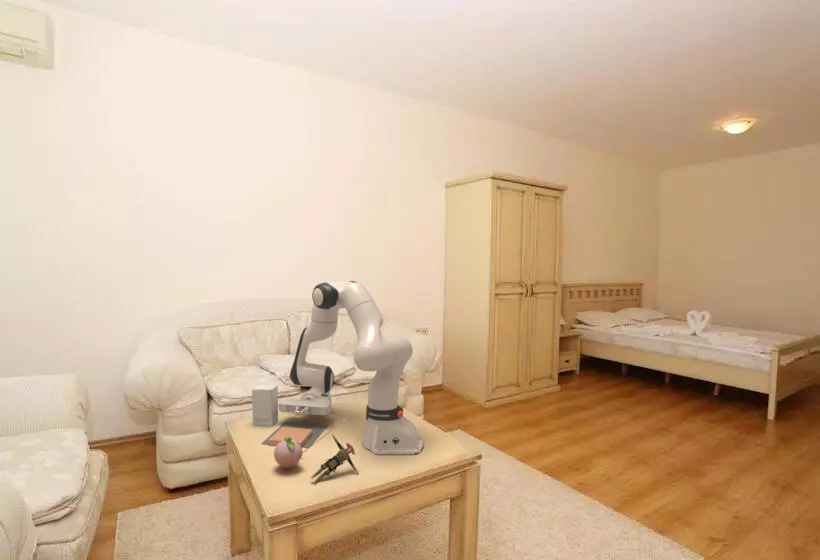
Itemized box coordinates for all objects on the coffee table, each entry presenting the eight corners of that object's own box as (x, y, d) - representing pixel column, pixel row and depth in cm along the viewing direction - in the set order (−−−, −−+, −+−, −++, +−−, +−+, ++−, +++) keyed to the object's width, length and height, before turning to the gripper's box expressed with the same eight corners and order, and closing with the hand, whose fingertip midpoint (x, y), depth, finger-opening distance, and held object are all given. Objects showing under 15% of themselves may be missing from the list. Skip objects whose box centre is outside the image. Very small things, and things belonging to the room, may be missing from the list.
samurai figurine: (322, 502, 130) (371, 458, 141) (330, 502, 122) (381, 456, 133) (293, 457, 132) (344, 418, 143) (299, 455, 124) (352, 414, 135)
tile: (312, 429, 160) (300, 442, 148) (312, 434, 160) (300, 447, 148) (282, 426, 161) (268, 439, 149) (282, 431, 161) (268, 445, 149)
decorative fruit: (269, 465, 135) (270, 435, 135) (294, 459, 140) (294, 429, 140) (279, 478, 128) (280, 446, 127) (305, 471, 133) (306, 439, 132)
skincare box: (278, 422, 171) (279, 384, 171) (271, 428, 165) (272, 389, 164) (258, 421, 172) (259, 383, 172) (251, 427, 166) (251, 388, 165)
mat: (328, 425, 169) (328, 424, 169) (309, 449, 148) (309, 448, 148) (285, 422, 172) (285, 421, 172) (260, 445, 150) (260, 444, 150)
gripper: (287, 392, 176) (272, 403, 162) (334, 396, 174) (324, 407, 160) (286, 407, 176) (272, 419, 162) (334, 411, 174) (323, 423, 160)
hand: (298, 413), depth 161 cm, fingers closed
